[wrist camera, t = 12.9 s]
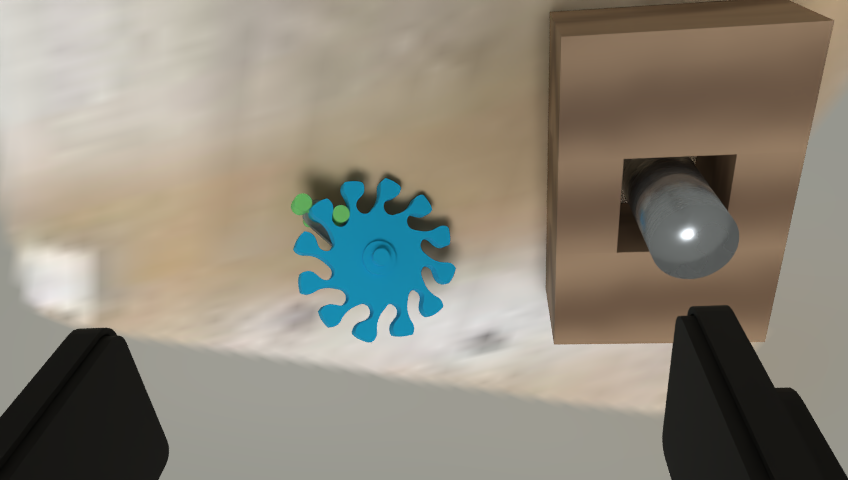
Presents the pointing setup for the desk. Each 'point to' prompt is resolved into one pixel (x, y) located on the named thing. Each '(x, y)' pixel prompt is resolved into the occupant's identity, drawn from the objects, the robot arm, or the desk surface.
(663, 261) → the long pin
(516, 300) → the desk surface
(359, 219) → the gear
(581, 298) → the hole block
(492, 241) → the desk surface
